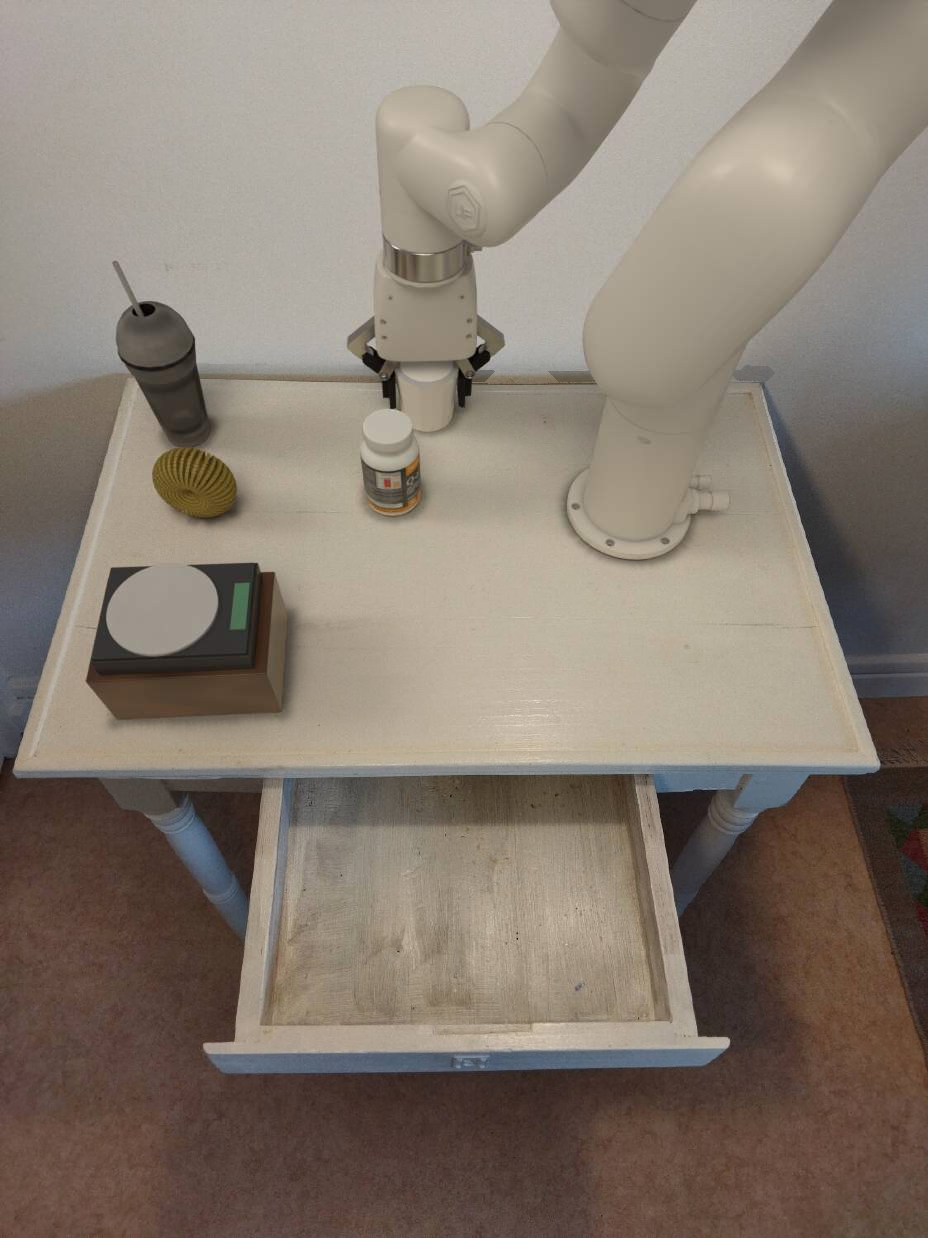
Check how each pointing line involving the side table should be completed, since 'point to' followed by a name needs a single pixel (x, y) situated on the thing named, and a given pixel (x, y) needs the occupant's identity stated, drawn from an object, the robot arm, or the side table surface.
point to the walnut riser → (207, 677)
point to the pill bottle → (390, 462)
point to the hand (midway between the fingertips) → (427, 398)
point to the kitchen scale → (178, 619)
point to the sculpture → (194, 482)
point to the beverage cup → (163, 366)
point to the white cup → (427, 392)
